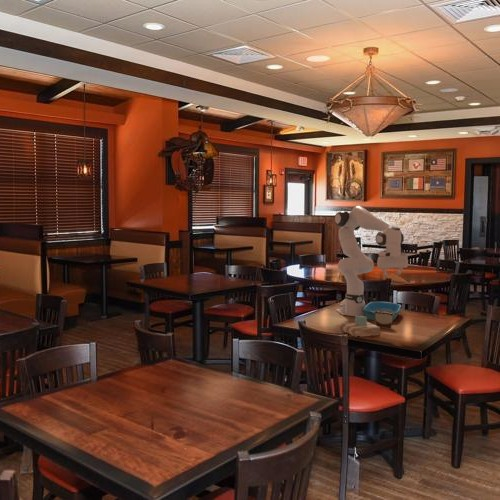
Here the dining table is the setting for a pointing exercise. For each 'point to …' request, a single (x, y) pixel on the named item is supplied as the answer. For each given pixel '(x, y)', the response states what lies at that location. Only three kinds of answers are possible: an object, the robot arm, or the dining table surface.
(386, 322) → the food container
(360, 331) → the folded beige towel
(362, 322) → the teal block
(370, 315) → the casserole dish
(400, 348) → the dining table surface
